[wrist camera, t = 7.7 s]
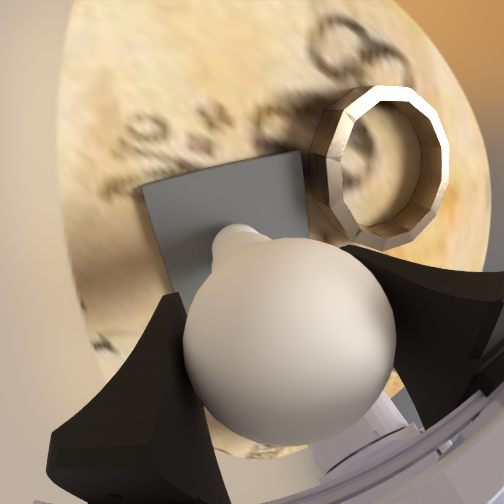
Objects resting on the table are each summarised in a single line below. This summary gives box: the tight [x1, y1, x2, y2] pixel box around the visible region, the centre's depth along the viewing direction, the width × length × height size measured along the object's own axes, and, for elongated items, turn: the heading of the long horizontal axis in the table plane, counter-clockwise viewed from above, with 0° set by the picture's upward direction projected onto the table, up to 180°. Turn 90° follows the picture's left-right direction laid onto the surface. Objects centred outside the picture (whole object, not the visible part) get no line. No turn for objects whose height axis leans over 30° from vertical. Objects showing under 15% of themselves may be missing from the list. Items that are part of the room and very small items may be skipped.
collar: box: [308, 86, 449, 251], centre depth 15 cm, size 10×10×2 cm
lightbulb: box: [183, 224, 396, 446], centre depth 10 cm, size 6×6×11 cm
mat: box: [142, 151, 310, 316], centre depth 15 cm, size 8×8×1 cm
